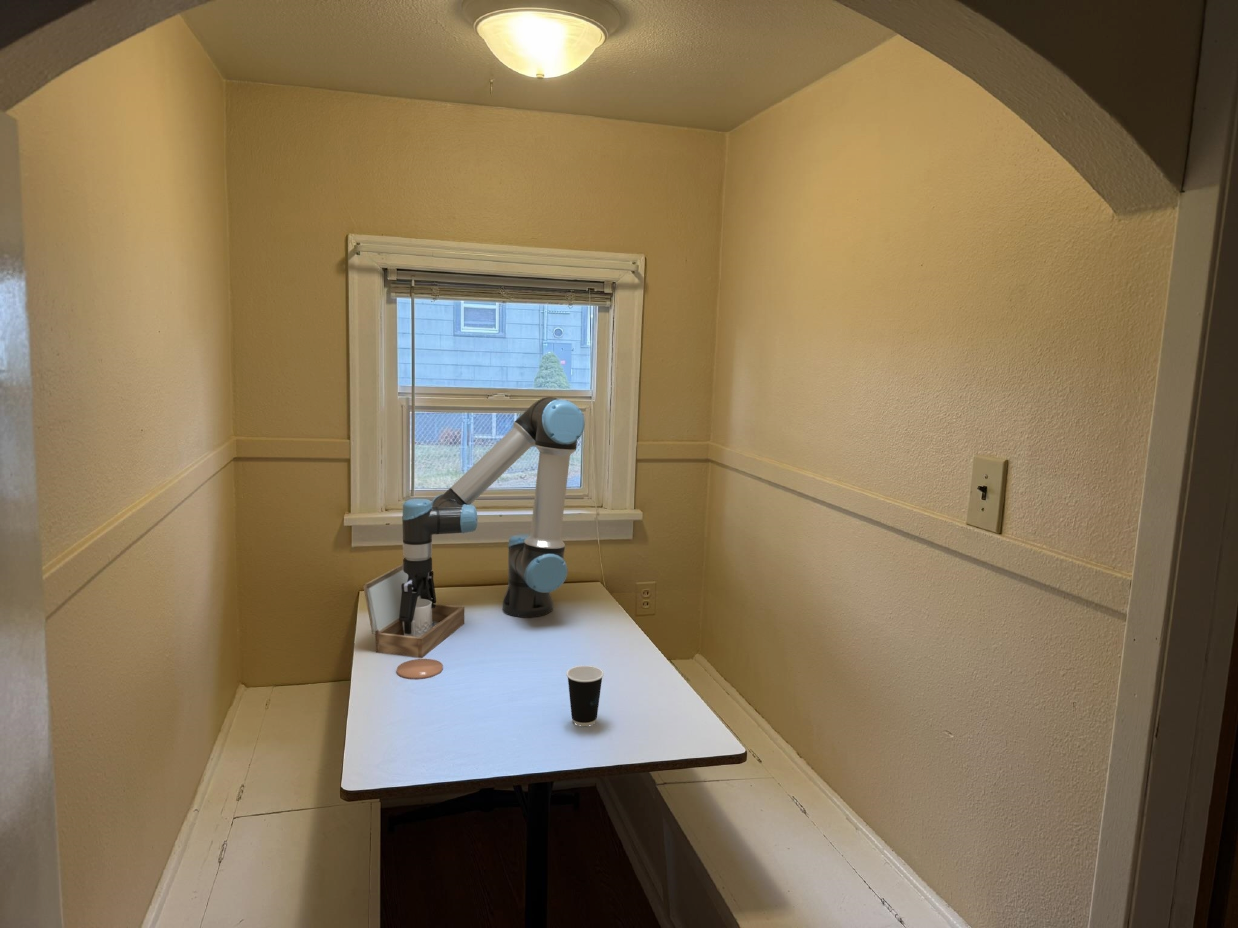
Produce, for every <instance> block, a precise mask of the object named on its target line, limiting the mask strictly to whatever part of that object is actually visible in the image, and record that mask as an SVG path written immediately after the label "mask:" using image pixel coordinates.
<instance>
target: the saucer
mask: <svg viewBox="0 0 1238 928" xmlns="http://www.w3.org/2000/svg"><path fill="white" fill-rule="evenodd" d="M443 670H444V665H443V663H442V662H441V661H440V660H436V659H432V658H416V659H415V658H414V659H410V660H407V661H404V662H402V663H400V664H399V665H397V667H396V674H397V676H399V677H400V678H403V679H408V680H423V679H425V680H426V679H429V678H432V677H435V676H437V675H439V674H441V673H442V672H443Z"/></svg>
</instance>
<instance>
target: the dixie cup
mask: <svg viewBox="0 0 1238 928" xmlns="http://www.w3.org/2000/svg"><path fill="white" fill-rule="evenodd" d="M565 674H566V677H567V684H568V693H569V703H570V705H569V706H570V714H571V719H572V723H573V722H574V723H576V724H577V725H581V726H589V725H592V724H594V723H596V720H597V717H598V713H599V706H600V705H599V704H600V698H601V689H602V682H603V681H602V679H603V677H604V674H605V673H604V671H603V670H602V669H601V668H599V667H597V666H594V665H577V666H573V667H571V668H568V669H567V671H566V673H565ZM574 723H573V724H574ZM577 725H576V726H577ZM594 725H595V724H594ZM592 726H593V725H592ZM589 727H590V726H589Z"/></svg>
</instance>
